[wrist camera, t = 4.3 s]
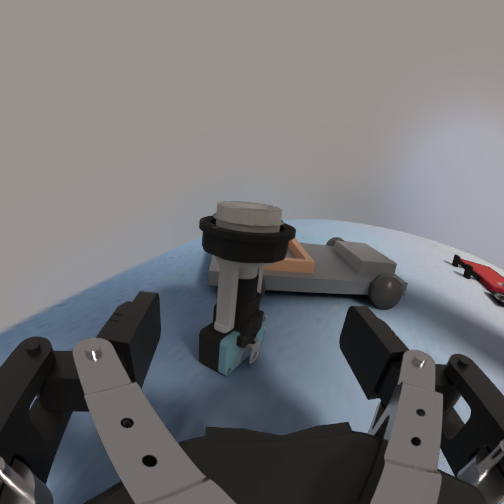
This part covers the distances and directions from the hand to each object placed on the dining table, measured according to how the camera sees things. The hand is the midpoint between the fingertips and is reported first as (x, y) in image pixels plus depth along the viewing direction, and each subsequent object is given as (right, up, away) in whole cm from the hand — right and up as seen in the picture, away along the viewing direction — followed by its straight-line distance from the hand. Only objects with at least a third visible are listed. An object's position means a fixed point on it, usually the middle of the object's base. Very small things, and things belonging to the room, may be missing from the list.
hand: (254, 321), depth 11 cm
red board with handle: (+49, -4, +28) cm, 56 cm away
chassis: (+6, 0, +23) cm, 24 cm away
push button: (-1, -4, +7) cm, 9 cm away
